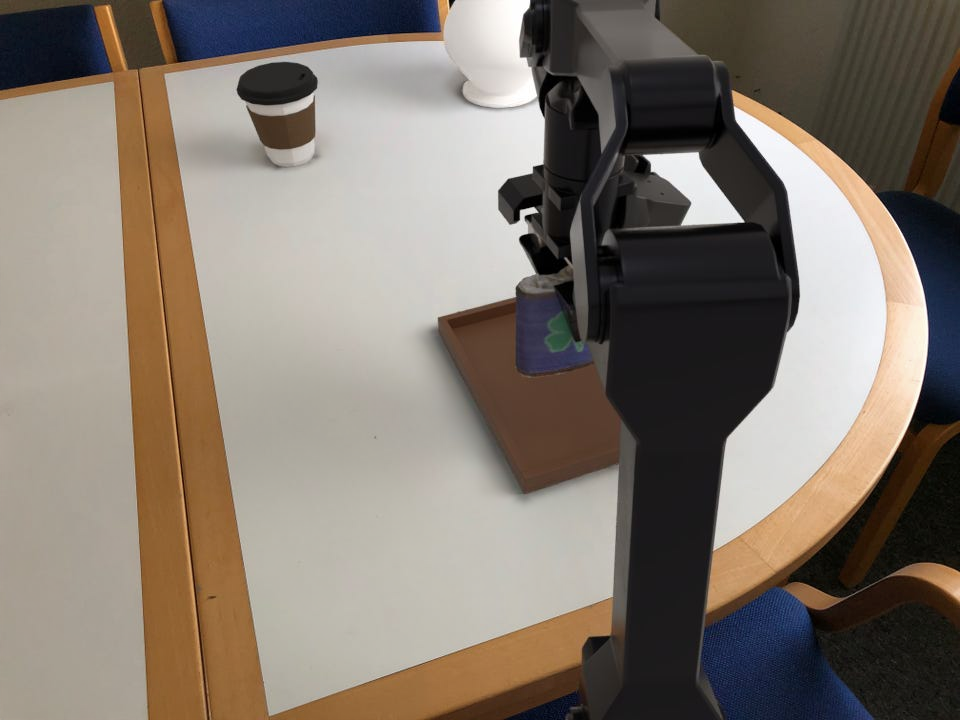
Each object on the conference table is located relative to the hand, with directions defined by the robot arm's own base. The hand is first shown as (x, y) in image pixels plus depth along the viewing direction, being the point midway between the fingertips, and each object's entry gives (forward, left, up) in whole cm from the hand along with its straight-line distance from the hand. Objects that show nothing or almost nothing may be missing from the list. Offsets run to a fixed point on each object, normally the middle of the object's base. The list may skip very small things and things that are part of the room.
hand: (572, 328), depth 67 cm
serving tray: (+6, -2, -12) cm, 14 cm away
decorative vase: (+71, -22, -13) cm, 76 cm away
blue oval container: (0, 0, -4) cm, 4 cm away
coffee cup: (+63, +14, -13) cm, 66 cm away
